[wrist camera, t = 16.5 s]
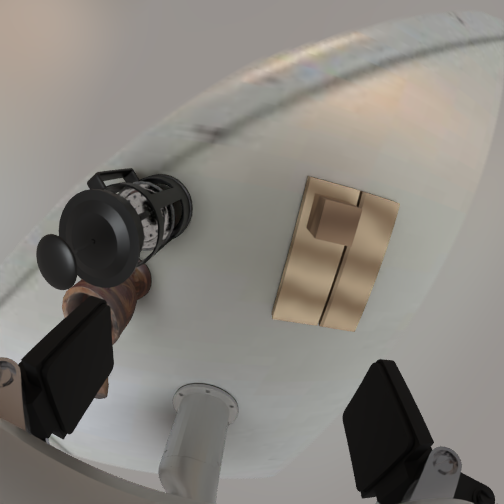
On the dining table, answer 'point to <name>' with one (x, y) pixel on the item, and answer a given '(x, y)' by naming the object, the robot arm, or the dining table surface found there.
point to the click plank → (310, 261)
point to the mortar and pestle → (112, 303)
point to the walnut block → (333, 220)
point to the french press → (112, 229)
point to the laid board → (360, 263)
